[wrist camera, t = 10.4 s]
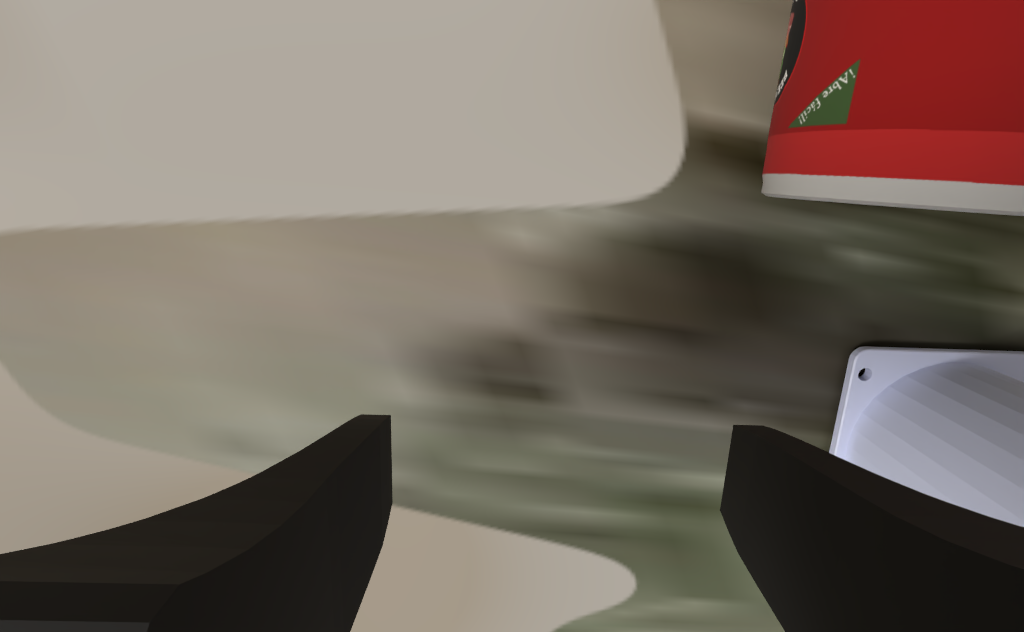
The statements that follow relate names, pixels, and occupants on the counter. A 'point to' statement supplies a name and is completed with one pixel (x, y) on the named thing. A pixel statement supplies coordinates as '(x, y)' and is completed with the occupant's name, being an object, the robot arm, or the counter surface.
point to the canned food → (901, 105)
